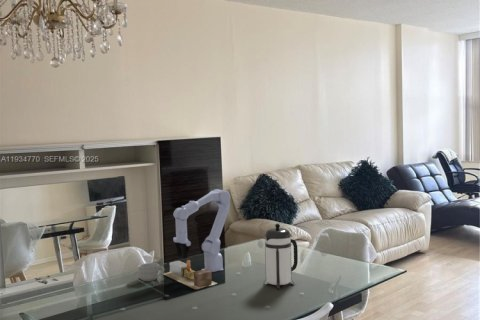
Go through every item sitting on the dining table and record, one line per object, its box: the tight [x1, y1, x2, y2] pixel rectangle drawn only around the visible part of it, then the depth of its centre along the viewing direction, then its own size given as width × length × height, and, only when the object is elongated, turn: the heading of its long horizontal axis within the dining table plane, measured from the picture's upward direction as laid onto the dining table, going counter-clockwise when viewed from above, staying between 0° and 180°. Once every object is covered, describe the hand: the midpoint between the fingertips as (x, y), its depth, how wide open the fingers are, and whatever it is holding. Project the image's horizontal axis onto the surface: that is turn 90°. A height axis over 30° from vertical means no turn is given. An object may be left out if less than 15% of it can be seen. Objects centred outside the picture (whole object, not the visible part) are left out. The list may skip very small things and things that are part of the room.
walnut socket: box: [194, 268, 213, 289], centre depth 235 cm, size 7×5×6 cm
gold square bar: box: [183, 259, 197, 279], centre depth 249 cm, size 3×19×8 cm, turn 37°
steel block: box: [169, 260, 187, 278], centre depth 253 cm, size 6×12×6 cm, turn 37°
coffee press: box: [263, 223, 299, 290], centre depth 234 cm, size 17×16×30 cm
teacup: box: [137, 262, 165, 282], centre depth 246 cm, size 14×11×8 cm
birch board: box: [162, 271, 218, 290], centre depth 246 cm, size 13×33×1 cm, turn 37°
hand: (182, 257), depth 250 cm, fingers open, 5 cm apart
